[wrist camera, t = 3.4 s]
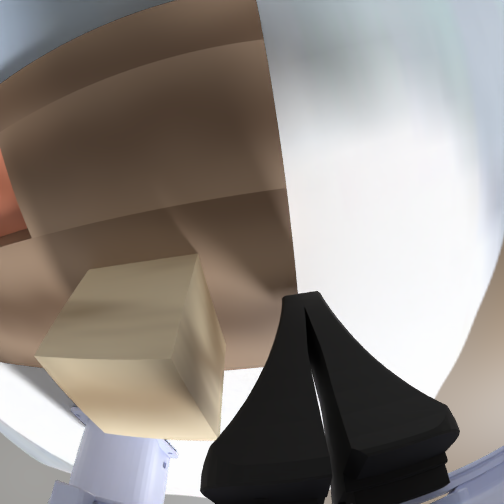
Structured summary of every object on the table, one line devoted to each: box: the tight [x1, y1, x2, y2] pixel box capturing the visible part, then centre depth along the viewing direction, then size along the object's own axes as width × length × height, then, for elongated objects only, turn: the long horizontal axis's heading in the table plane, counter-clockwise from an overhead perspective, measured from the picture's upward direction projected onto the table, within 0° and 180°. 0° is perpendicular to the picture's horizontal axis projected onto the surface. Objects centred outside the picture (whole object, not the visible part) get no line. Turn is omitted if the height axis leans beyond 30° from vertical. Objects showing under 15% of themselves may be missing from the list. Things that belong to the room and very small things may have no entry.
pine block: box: [34, 254, 226, 441], centre depth 11 cm, size 5×5×5 cm
